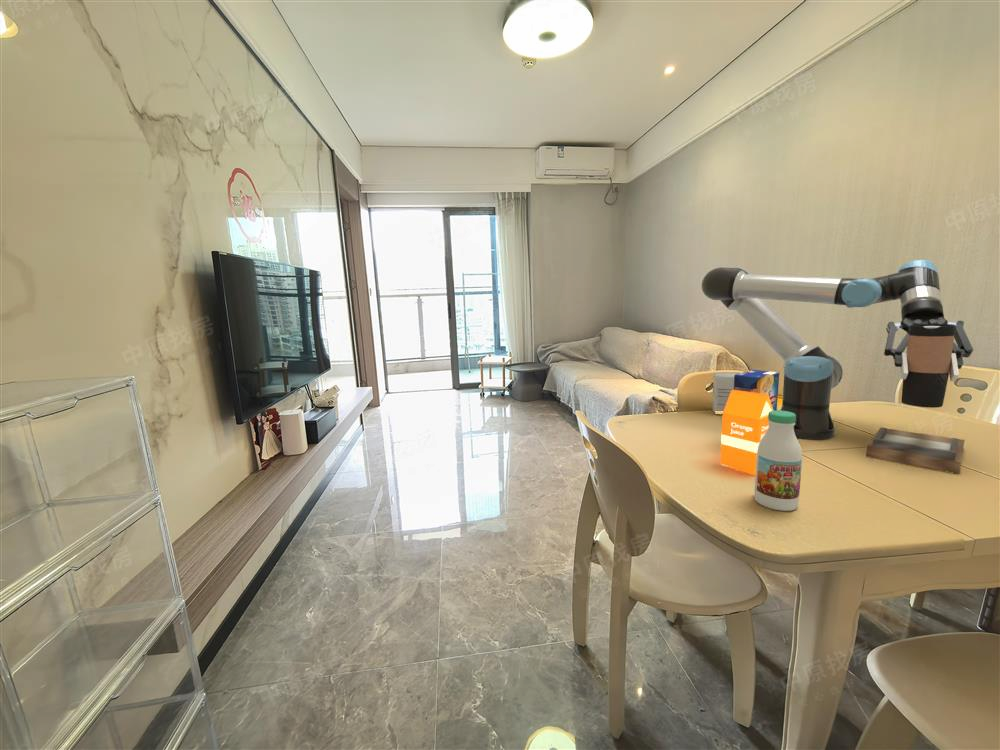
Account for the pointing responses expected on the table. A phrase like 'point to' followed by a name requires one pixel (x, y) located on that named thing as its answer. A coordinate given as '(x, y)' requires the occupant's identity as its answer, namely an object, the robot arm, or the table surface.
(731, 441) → the orange juice
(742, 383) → the beverage box
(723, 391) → the supplement box
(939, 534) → the table surface
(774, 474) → the milk bottle
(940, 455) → the dock
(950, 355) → the travel mug
